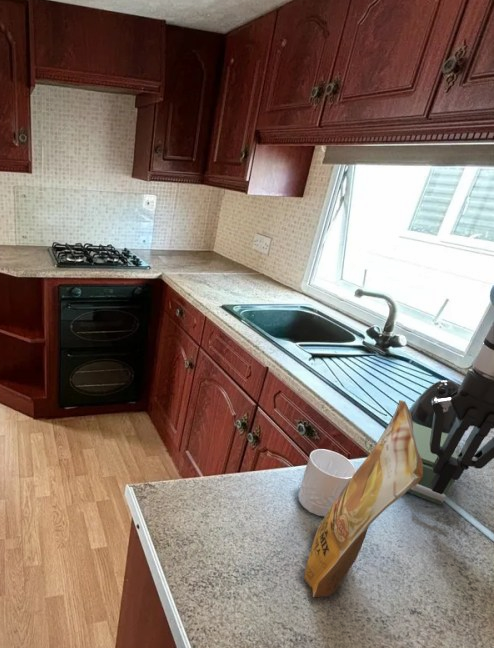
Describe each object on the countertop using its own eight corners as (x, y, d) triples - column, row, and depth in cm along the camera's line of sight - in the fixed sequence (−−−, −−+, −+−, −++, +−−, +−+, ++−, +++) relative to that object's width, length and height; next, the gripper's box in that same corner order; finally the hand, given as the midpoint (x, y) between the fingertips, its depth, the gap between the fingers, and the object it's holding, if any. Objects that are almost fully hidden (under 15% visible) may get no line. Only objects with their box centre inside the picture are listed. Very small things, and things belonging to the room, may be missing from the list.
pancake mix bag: (360, 536, 72) (427, 404, 59) (343, 624, 57) (428, 473, 45) (320, 517, 75) (376, 387, 63) (294, 595, 60) (361, 447, 48)
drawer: (441, 520, 76) (458, 493, 73) (396, 501, 79) (410, 475, 76) (434, 466, 90) (448, 442, 87) (396, 453, 93) (408, 429, 90)
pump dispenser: (393, 425, 106) (417, 375, 99) (415, 417, 110) (440, 369, 104) (434, 449, 98) (464, 396, 91) (456, 439, 102) (486, 388, 96)
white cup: (339, 499, 79) (357, 460, 75) (336, 526, 73) (355, 485, 69) (298, 482, 83) (312, 443, 78) (291, 506, 77) (307, 466, 72)
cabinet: (440, 505, 81) (460, 472, 77) (391, 485, 85) (408, 453, 81) (434, 465, 92) (452, 435, 88) (391, 450, 96) (406, 420, 92)
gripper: (452, 371, 63) (395, 484, 74) (563, 399, 57) (484, 518, 68) (447, 355, 69) (395, 462, 79) (548, 379, 63) (477, 492, 74)
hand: (436, 488), depth 74 cm, fingers closed
